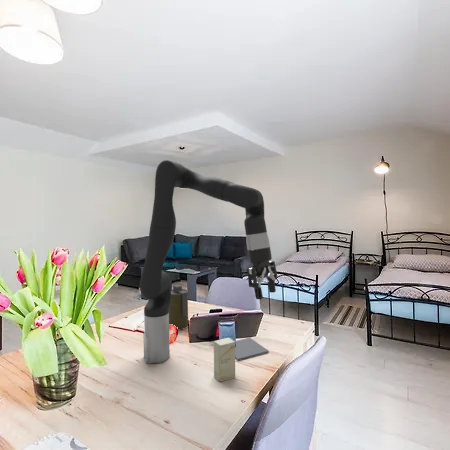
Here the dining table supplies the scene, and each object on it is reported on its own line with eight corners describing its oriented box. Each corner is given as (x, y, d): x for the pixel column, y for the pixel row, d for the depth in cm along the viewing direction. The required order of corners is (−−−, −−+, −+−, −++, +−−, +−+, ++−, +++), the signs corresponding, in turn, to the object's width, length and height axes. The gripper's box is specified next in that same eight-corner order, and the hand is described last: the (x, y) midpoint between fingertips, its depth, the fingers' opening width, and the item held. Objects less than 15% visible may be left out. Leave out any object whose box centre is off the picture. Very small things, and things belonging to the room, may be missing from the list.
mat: (237, 361, 108) (237, 358, 108) (221, 346, 121) (221, 344, 121) (268, 352, 115) (268, 350, 115) (249, 339, 127) (249, 337, 127)
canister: (163, 326, 144) (162, 286, 143) (181, 320, 151) (180, 282, 151) (175, 332, 136) (174, 290, 136) (193, 326, 143) (192, 286, 143)
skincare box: (219, 382, 95) (219, 345, 94) (213, 376, 99) (213, 340, 98) (236, 377, 98) (235, 341, 97) (229, 371, 102) (229, 336, 101)
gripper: (260, 245, 105) (267, 290, 104) (237, 251, 93) (244, 301, 93) (278, 243, 100) (286, 290, 99) (256, 249, 89) (264, 301, 88)
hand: (266, 295), depth 96 cm, fingers open, 8 cm apart
